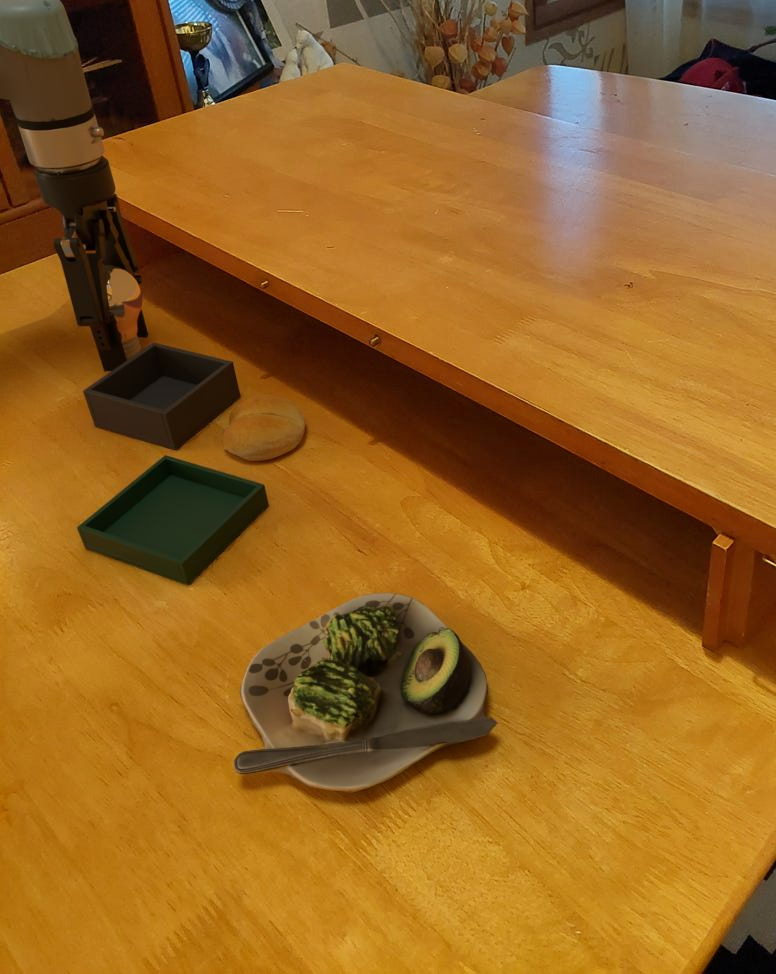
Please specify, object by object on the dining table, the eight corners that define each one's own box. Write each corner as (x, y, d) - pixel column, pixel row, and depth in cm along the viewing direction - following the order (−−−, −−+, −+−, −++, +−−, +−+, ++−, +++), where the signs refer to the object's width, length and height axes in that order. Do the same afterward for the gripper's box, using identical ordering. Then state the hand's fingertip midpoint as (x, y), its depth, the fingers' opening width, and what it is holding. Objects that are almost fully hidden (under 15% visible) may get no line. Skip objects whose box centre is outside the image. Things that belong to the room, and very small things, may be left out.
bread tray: (84, 548, 85) (76, 527, 83) (171, 475, 93) (165, 454, 92) (188, 585, 81) (181, 563, 79) (269, 505, 89) (264, 484, 88)
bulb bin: (94, 426, 101) (82, 390, 98) (163, 376, 109) (153, 342, 106) (175, 450, 97) (165, 413, 94) (241, 396, 105) (233, 361, 102)
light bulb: (141, 339, 116) (115, 249, 108) (170, 359, 112) (144, 266, 104) (89, 361, 112) (58, 268, 104) (116, 381, 108) (86, 287, 100)
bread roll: (217, 465, 95) (209, 433, 92) (238, 416, 102) (231, 384, 99) (297, 464, 94) (291, 432, 92) (313, 415, 101) (307, 384, 99)
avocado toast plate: (289, 871, 60) (278, 831, 57) (187, 693, 71) (173, 653, 68) (528, 725, 68) (528, 684, 65) (402, 587, 80) (397, 548, 77)
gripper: (71, 196, 89) (133, 397, 103) (133, 129, 105) (180, 312, 119) (-6, 198, 89) (66, 398, 103) (68, 131, 105) (122, 313, 119)
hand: (127, 352), depth 111 cm, fingers open, 7 cm apart
